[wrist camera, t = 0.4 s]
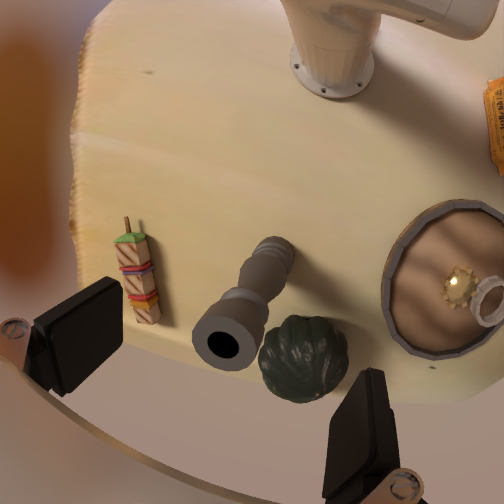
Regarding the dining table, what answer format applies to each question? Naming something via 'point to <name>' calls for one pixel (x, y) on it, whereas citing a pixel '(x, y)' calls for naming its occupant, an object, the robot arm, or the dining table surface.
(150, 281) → the skewer
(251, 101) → the dining table surface
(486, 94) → the pancake mix bag
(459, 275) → the sun gear
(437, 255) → the carrier plate
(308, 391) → the squash
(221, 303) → the candle holder
